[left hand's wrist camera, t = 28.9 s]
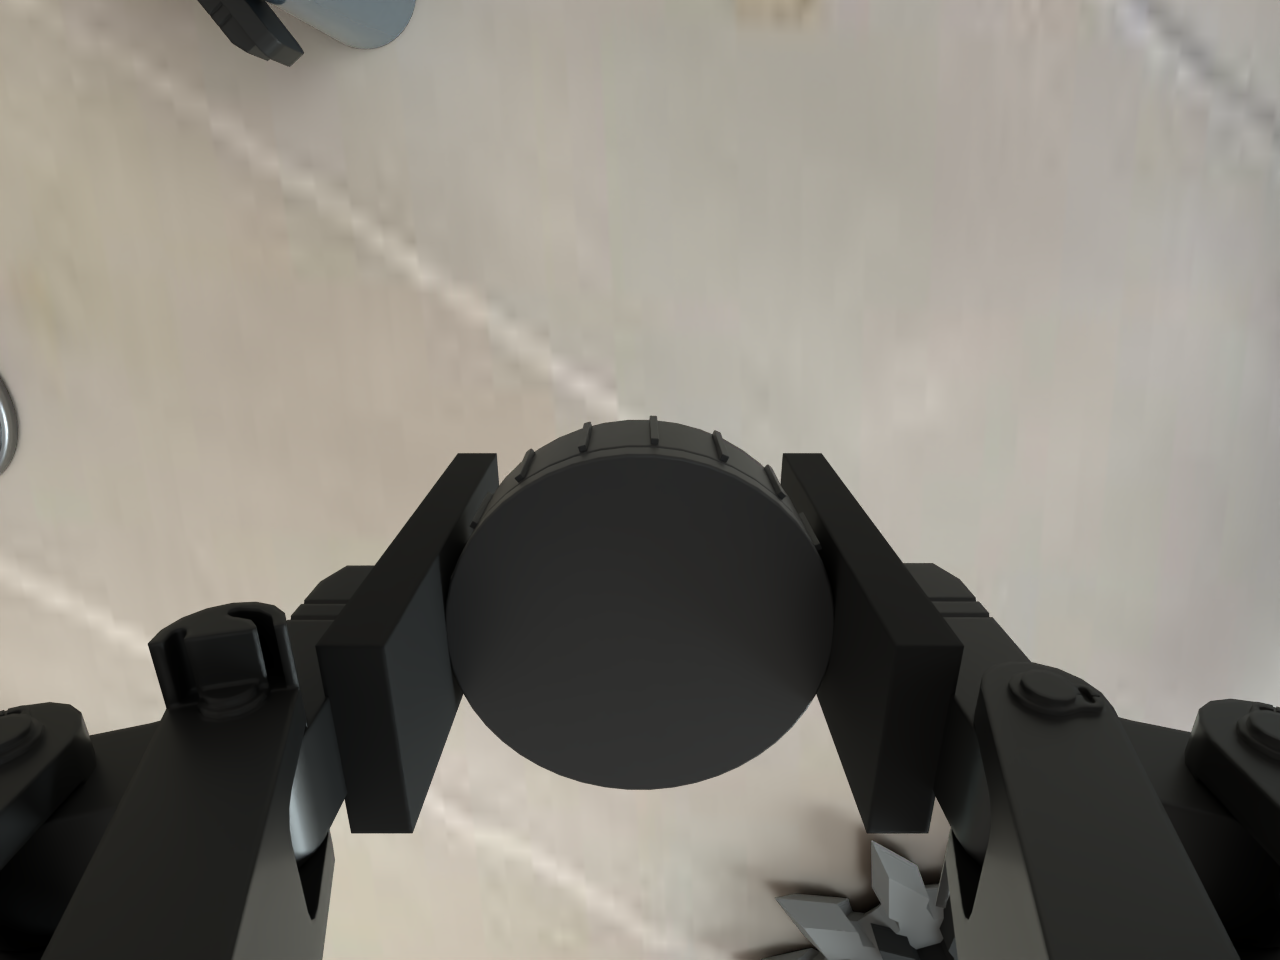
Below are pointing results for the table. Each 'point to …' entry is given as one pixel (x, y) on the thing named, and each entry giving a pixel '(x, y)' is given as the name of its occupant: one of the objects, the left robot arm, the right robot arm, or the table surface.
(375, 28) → the grey cylindrical flask
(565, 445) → the lid
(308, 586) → the table surface
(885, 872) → the decorative piece
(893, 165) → the table surface
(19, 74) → the table surface
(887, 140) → the table surface
